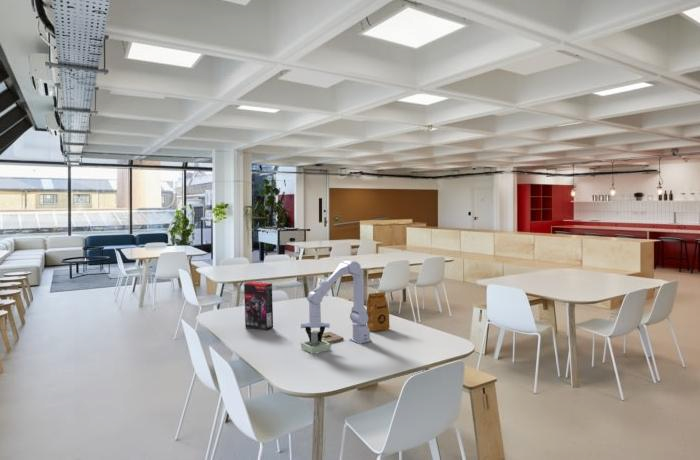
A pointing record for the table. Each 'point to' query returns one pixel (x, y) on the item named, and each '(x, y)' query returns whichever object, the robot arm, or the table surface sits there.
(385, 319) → the coffee package
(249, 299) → the graphics card box
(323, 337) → the tan flat square frame
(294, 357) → the table surface
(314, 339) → the pin
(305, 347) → the tray
